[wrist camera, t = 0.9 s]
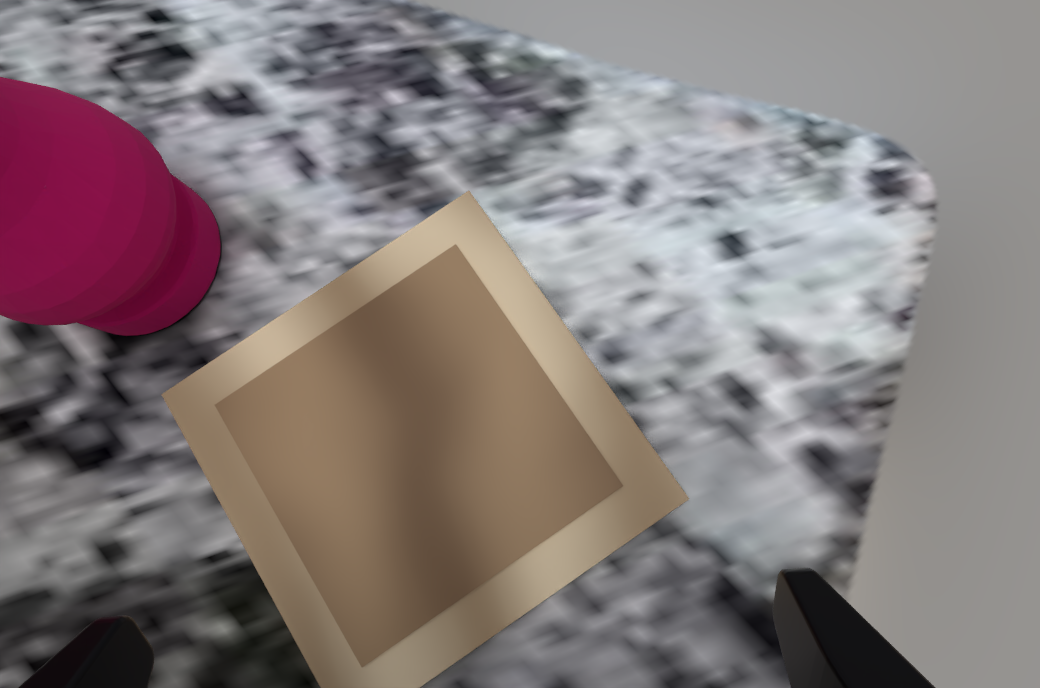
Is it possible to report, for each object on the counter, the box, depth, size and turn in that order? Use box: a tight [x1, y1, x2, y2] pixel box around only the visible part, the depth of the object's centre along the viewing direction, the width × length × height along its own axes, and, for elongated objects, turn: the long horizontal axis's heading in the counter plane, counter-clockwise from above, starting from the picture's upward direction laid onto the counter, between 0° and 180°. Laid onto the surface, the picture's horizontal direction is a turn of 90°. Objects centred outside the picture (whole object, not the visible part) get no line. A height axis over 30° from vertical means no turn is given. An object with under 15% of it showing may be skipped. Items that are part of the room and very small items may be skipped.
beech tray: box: [162, 191, 689, 688], centre depth 23 cm, size 13×13×1 cm
